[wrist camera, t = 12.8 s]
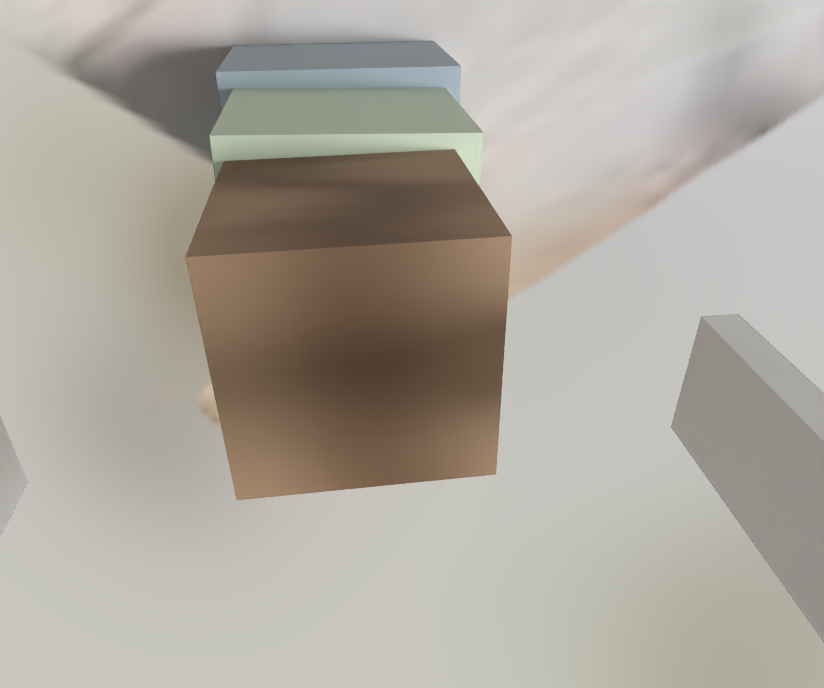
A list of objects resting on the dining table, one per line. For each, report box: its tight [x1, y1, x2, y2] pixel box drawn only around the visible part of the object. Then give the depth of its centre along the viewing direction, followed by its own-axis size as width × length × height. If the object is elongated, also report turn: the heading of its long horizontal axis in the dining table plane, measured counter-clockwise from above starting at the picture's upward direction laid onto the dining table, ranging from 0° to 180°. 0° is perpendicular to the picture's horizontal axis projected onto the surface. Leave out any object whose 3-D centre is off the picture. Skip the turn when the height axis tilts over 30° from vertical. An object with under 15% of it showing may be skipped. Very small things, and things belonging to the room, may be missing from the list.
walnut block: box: [186, 149, 512, 500], centre depth 16 cm, size 6×6×6 cm
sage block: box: [209, 88, 483, 186], centre depth 21 cm, size 7×7×6 cm
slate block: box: [215, 41, 461, 112], centre depth 27 cm, size 8×8×6 cm
